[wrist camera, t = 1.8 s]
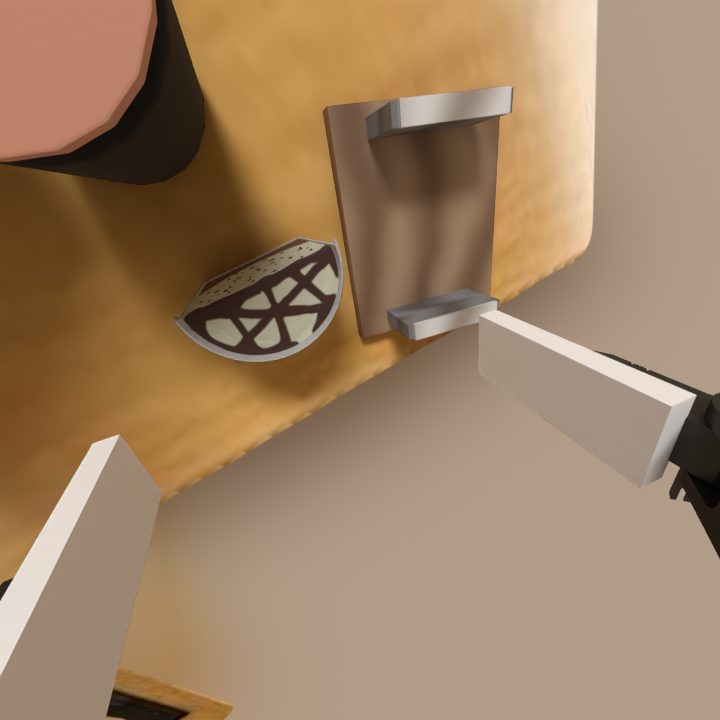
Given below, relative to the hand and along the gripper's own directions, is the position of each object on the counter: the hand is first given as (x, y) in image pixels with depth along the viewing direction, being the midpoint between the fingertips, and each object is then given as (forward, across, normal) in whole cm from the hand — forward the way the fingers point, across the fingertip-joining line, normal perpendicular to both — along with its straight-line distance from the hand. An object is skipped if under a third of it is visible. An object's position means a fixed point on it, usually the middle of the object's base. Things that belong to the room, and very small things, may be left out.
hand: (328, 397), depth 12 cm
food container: (+22, -1, -1) cm, 22 cm away
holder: (+22, +16, +1) cm, 27 cm away
